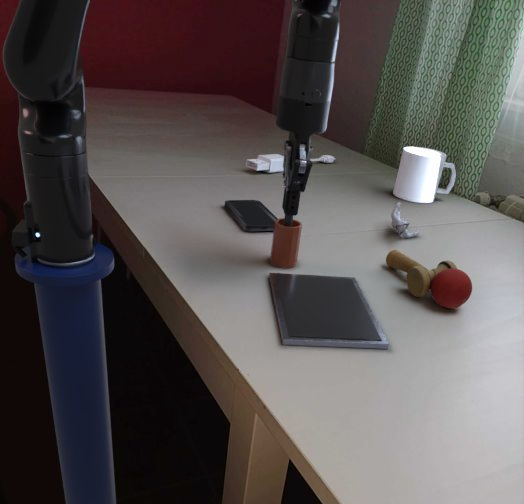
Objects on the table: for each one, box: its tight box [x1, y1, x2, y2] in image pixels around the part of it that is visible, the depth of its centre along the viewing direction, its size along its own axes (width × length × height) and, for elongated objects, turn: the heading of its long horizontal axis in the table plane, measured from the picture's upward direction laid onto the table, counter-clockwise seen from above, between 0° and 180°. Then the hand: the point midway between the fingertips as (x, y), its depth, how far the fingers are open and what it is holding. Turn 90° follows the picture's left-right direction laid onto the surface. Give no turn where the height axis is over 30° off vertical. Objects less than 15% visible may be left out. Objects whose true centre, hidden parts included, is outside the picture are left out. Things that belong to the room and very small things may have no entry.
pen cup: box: [269, 217, 303, 269], centre depth 89 cm, size 4×4×7 cm
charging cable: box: [245, 153, 337, 174], centre depth 145 cm, size 5×32×3 cm, turn 133°
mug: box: [392, 146, 457, 204], centre depth 130 cm, size 14×10×11 cm
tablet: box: [268, 272, 390, 350], centre depth 78 cm, size 14×20×1 cm
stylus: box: [283, 181, 297, 227], centre depth 87 cm, size 1×1×13 cm
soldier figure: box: [390, 202, 420, 239], centre depth 109 cm, size 8×5×12 cm
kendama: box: [385, 249, 473, 309], centre depth 87 cm, size 8×6×18 cm
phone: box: [224, 199, 279, 233], centre depth 108 cm, size 8×1×15 cm
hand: (289, 212), depth 86 cm, fingers closed on stylus, 1 cm apart
